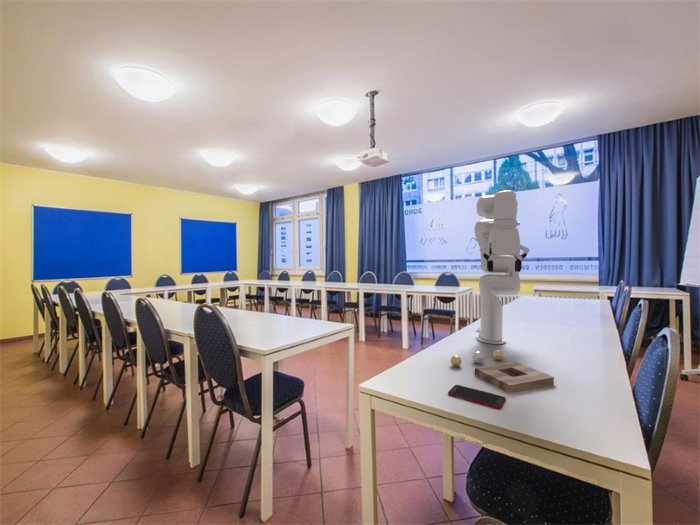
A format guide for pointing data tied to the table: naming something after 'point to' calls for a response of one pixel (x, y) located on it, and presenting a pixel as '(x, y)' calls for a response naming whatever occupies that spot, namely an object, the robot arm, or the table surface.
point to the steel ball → (478, 357)
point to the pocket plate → (522, 381)
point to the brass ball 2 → (498, 355)
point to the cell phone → (477, 396)
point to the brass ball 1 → (456, 361)
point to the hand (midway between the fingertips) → (504, 271)
